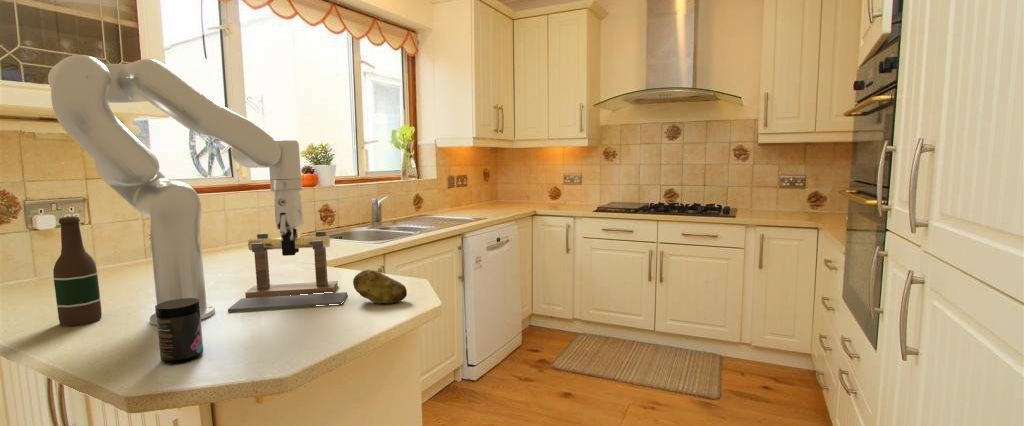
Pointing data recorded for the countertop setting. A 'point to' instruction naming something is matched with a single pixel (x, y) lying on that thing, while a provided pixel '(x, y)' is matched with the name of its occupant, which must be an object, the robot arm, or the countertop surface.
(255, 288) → the hook stand
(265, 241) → the rail
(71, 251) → the beer bottle
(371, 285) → the potato
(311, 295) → the mat
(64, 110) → the robot arm
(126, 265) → the countertop surface
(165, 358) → the supplement container
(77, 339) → the countertop surface
